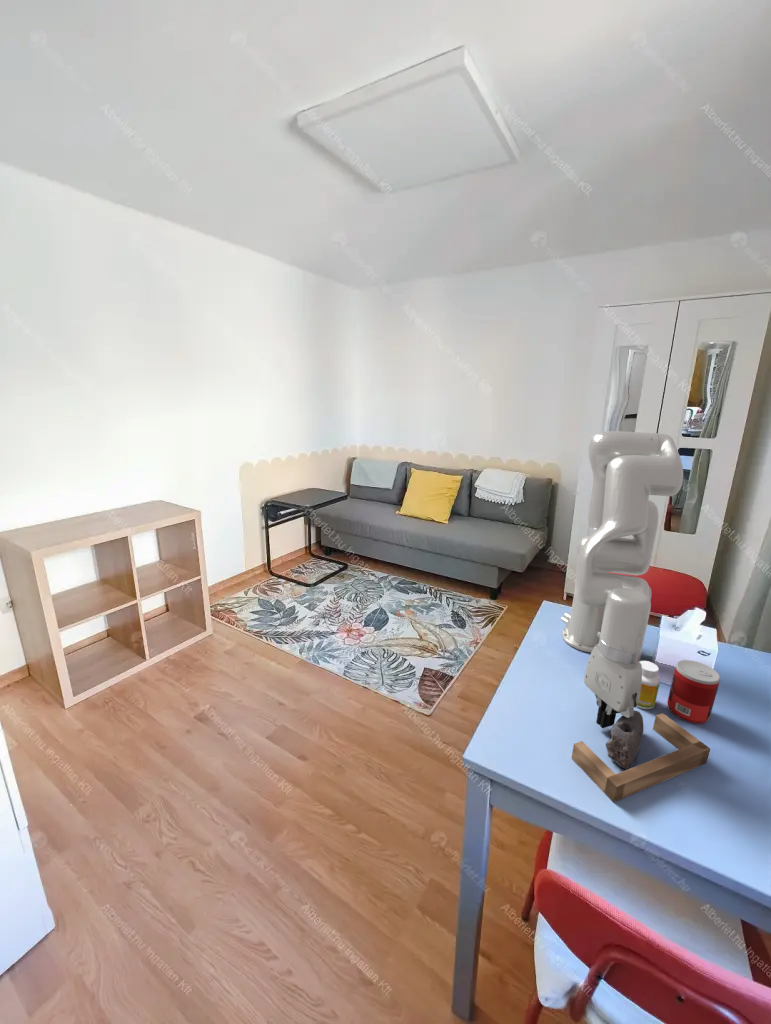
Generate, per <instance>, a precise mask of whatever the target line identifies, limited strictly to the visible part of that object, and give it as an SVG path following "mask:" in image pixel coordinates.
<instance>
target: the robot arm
mask: <svg viewBox="0 0 771 1024" xmlns="http://www.w3.org/2000/svg"><path fill="white" fill-rule="evenodd" d="M588 458H589V463H590V466H591V470H592V477H593V479H592V487H591V494H590V499H589V501H590V502H589V507H588V515H587V516H588V518H587V520H588V521H587V522H588V525H589V528H591V529H592V530H595V531H594V532H593V533H592V534H587V535H586V536H583V537H581V538H580V539H579V540H578V543H577V547H576V548H577V550H576V559H577V560H576V572H575V581H574V582H575V584H574V593H573V599H572V603H571V604H572V605H571V611H570V612H565V613H564V615H563V616H562V617H561V618H560V619H561V621H562V622H563V623H565V624H566V626H565V627H564V628H563V629H562V631H561V637H562V639H563V641H564V642H565V643H566V644H568V645H569V646H571V647H572V648H574V649H576V650H579V651H582V652H586V653H590V655H589V658H588V661H587V663H586V668H585V672H584V677H583V678H584V679H583V681H584V685H585V686H586V687H587V688H588V690H589V691H591V692H592V693H593V694H594V696H595V698H596V705H597V707H598V708H597V716H596V722H595V723H596V724H597V725H599V726H600V728H601V729H605V728H606V729H607V728H608V727H613V726H614V724H615V723H616V717H617V714H620V715H621V716H622V715H623V716H625V717H627V718H631V717H633V716H634V710H635V709H636V708H638V707H637V705H638V702H639V698H640V692H641V683H642V665H641V663H640V661H641V655H642V651H643V646H644V643H645V638H646V632H647V627H648V624H649V617H650V614H651V607H652V603H651V599H652V589H651V588H652V587H650V586H649V583H648V582H647V581H646V580H645V579H644V578H641V577H638V576H642V575H644V574H646V573H648V571H649V569H650V565H651V561H652V558H653V552H654V547H655V541H656V536H657V531H658V527H659V526H658V525H659V510H658V507H657V505H656V503H655V502H653V501H651V500H649V498H650V497H649V496H658V497H659V496H660V497H674V496H675V495H677V494H678V493H679V492H680V491H681V488H682V486H683V483H684V482H683V481H684V467H683V463H682V459H681V455H680V453H679V451H678V448H677V446H676V443H675V441H674V439H673V438H672V437H671V435H668V434H665V433H656V432H637V431H636V432H635V431H621V430H620V431H619V430H616V431H614V430H613V431H610V430H608V431H599V432H598V433H595V434H593V435H592V436H591V439H590V440H589V445H588ZM630 536H631V537H632V538H629V537H630Z"/></svg>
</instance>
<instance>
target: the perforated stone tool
mask: <svg viewBox="0 0 771 1024" xmlns="http://www.w3.org/2000/svg"><path fill="white" fill-rule="evenodd" d="M642 715H643V714H642V713H641V712H640V711H638V710H635V709H634V716H633V717H631V718H627V717H625V716H623V715H621V716H620V717H619V718H618V719H617V720H615V722H614V725H612V728H611V729H610V736H611V738H610V739H609V740H608V741H607V742H606V743H605V747H606V751H607V755H608V757H609V758H610V759H611V760H612V761H613V762H615V763H617V765H618V766H620V767H621V768H623V769H629V767H630V766H631V764H633V762H634V760H635V758H636V756H637V754H638V751H639V749H640V747H641V745H642V744H641V743H642V741H643V738H644V737H643V736H644V718H643V716H642Z"/></svg>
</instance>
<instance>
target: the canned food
mask: <svg viewBox="0 0 771 1024" xmlns="http://www.w3.org/2000/svg"><path fill="white" fill-rule="evenodd" d="M720 682H721V675H720V674H719V673H718V671H716V670H715V669H714V668H712V667H711V666H708V665H707V664H704V663H702V662H698V661H695V660H689V659H684V660H683V659H681V660H679V661H677V662H676V665H675V668H674V672H673V675H672V679H671V686H670V688H669V694H668V698H667V707H668V710H669V711H670V712H671V713H672V714H673V715H675V716H676V717H677V718H678V719H681V720H683V721H685V722H686V723H687V722H688V723H691V724H697V725H698V724H699V725H700V724H705V723H707V722H708V721H709V720H710V718H711V714H712V711H713V707H714V704H715V700H716V696H717V694H718V690H719V686H720Z"/></svg>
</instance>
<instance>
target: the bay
mask: <svg viewBox="0 0 771 1024" xmlns="http://www.w3.org/2000/svg"><path fill="white" fill-rule="evenodd" d="M652 730H653V731H655V732H656V733H657V734H659V736H661V737H662V738H664V740H666V741H667V742H668V743H670V744H671V745H672V746H674V747H675V749H676V750H674V751H671V752H669V753H666V754H664V755H660V756H659V757H656V758H654V759H652V760H649V761H646V762H643V763H641V764H638V765H635V766H633V767H630V768H627V769H625V770H624V771H623V770H622V771H619V772H617V773H616V772H614V771H613V770H612V769H611V767H609V766H608V765H607V764H606V763H605V762H604V761H603V760H602V759H601V758H600V757H599V756H598V755H597V754H596V753H594V751H593V750H592V749H590V747H589V746H587V744H586V743H584V741H583V740H581V741H577V742H575V743H573V747H572V751H571V752H572V753H571V760H572V761H574V763H575V764H576V765H577V766H578V767H579V768H580V769H581V770H582V771H583V772H584V773H585V774H586V776H587V777H589V779H591V781H592V782H593V783H594V784H595V785H596V786H597V787H598V788H599V789H600V790H601V791H602V792H603V793H604V794H605V795H606V797H608V798H609V799H610V801H612V803H615V802H617V801H621V800H623V799H625V798H628V797H630V796H633V795H635V794H637V793H640V792H642V791H644V790H647V789H648V788H652V787H653V786H655V785H658V784H662V783H663V782H666V781H667V780H670V779H672V778H675V777H677V776H679V775H683V774H684V773H687V772H690V771H691V770H694V769H696V768H698V767H699V768H700V767H701V766H703V765H706V764H707V763H708V760H709V756H710V753H711V748H710V746H708V745H706V744H705V743H704V742H702V741H701V740H699V739H698V738H697V737H696V736H695V735H693V734H692V733H690V732H689V731H687V729H685V728H683V727H682V726H681V725H679V724H678V723H677V722H676V721H674V720H672V718H669V717H668V716H667V715H666V714H664V713H663V712H662V713H659V714H655V718H654V722H653V727H652Z"/></svg>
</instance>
